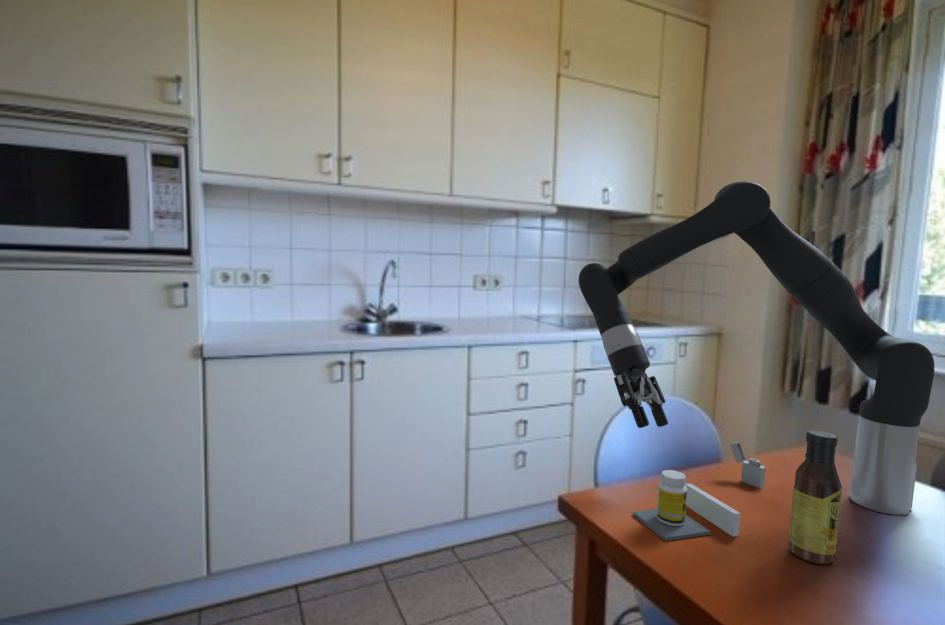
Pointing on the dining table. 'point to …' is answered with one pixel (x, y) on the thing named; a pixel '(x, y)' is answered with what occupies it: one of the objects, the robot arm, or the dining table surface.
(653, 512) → the coaster
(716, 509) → the wall
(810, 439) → the sauce bottle
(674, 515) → the supplement bottle
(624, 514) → the dining table surface
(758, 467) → the lighter
